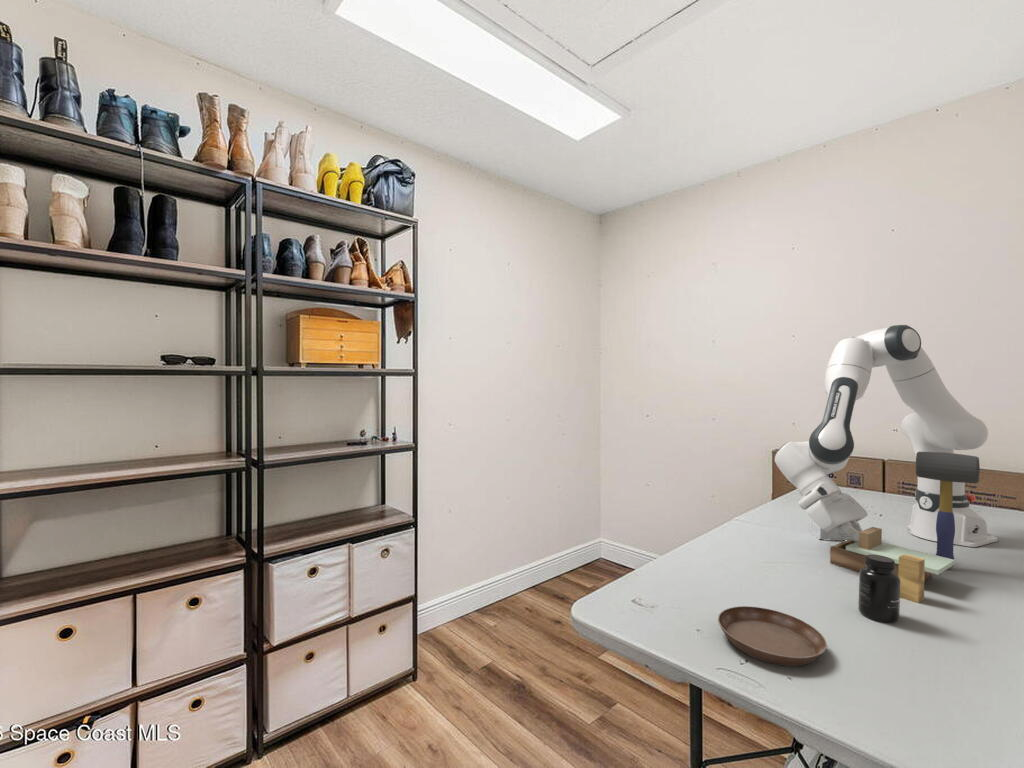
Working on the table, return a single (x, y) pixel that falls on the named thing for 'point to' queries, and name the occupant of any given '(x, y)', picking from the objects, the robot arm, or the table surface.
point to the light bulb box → (829, 533)
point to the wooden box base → (855, 559)
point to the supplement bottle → (879, 589)
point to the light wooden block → (911, 577)
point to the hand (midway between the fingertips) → (862, 539)
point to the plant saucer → (772, 635)
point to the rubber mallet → (947, 489)
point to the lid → (896, 551)
